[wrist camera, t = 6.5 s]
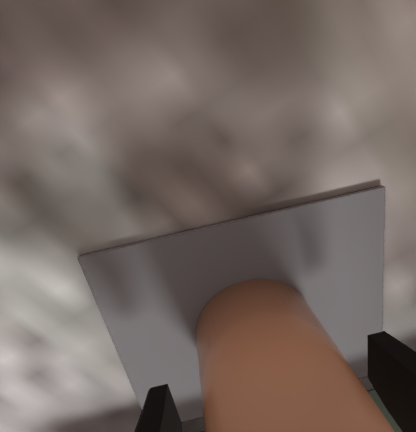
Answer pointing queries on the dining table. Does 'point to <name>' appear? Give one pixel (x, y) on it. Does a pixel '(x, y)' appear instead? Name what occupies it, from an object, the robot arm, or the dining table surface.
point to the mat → (238, 272)
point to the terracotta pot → (276, 366)
